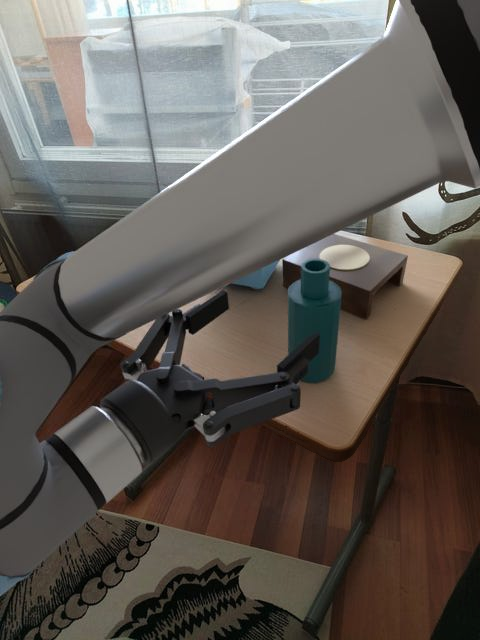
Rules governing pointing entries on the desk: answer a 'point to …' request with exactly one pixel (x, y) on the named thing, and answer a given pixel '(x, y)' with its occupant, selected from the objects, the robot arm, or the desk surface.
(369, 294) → the dark brown wooden block
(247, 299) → the desk surface
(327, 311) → the bottle
